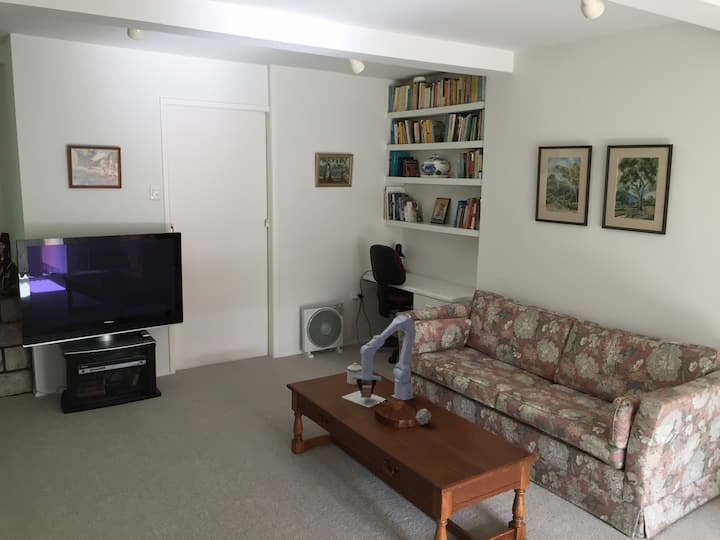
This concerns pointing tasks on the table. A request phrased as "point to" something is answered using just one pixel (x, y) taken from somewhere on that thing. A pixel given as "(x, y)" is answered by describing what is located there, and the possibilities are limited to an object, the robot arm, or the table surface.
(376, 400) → the grey mat
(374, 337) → the robot arm
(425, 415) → the grey rock
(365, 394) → the brown rectangular block
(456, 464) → the table surface
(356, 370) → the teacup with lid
